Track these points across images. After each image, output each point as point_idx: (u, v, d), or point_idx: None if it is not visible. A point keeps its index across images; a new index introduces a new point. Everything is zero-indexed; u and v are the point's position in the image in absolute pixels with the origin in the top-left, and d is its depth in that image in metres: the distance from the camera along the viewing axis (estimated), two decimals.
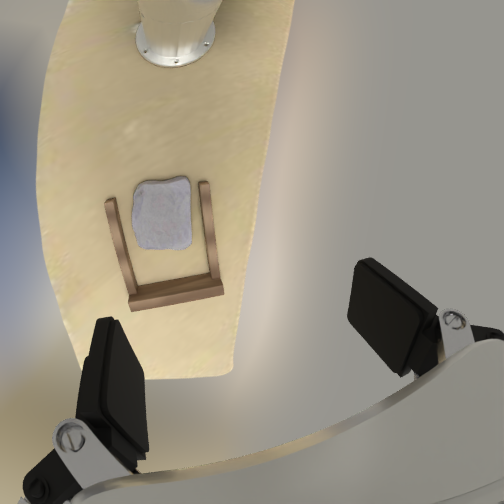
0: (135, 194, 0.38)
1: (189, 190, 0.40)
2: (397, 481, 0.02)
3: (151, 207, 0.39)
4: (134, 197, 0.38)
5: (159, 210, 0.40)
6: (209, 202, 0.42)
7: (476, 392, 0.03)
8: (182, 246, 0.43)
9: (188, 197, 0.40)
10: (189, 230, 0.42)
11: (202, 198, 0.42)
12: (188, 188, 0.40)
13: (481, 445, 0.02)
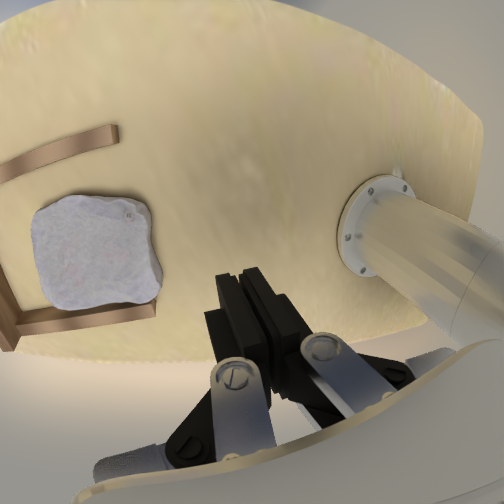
0: (126, 204, 0.19)
1: (143, 301, 0.22)
2: (397, 481, 0.02)
3: (103, 239, 0.19)
4: (120, 202, 0.19)
5: (100, 255, 0.19)
6: (125, 319, 0.23)
7: (476, 392, 0.03)
8: (49, 297, 0.18)
9: (130, 300, 0.22)
10: (77, 307, 0.20)
11: (129, 309, 0.22)
12: (146, 300, 0.22)
13: (481, 445, 0.02)
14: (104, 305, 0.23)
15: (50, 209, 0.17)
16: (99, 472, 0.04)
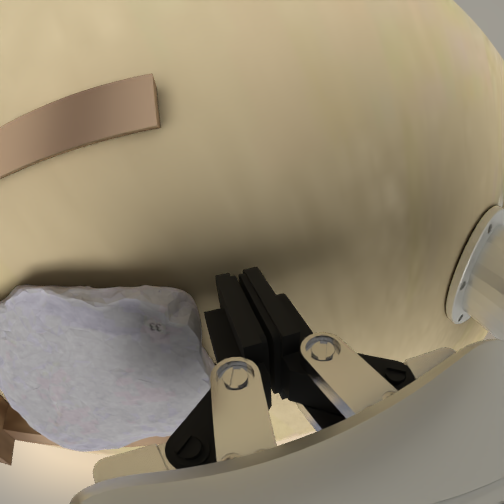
0: (143, 307, 0.08)
1: None
2: (397, 481, 0.02)
3: (113, 374, 0.08)
4: (128, 304, 0.08)
5: (114, 396, 0.09)
6: None
7: (476, 392, 0.03)
8: (50, 439, 0.08)
9: None
10: (97, 449, 0.10)
11: None
12: None
13: (481, 445, 0.02)
14: None
15: None
16: (99, 472, 0.04)
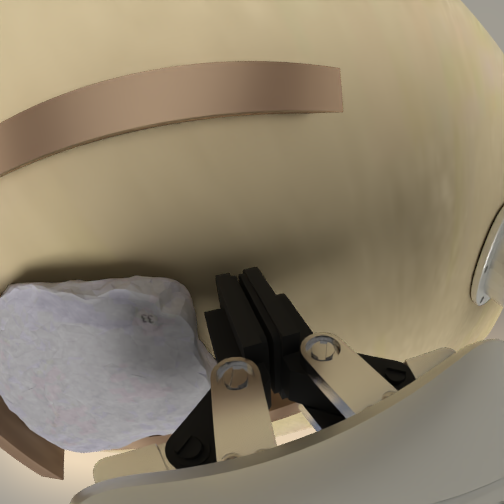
0: (133, 298, 0.08)
1: None
2: (397, 481, 0.02)
3: (106, 370, 0.08)
4: (118, 295, 0.08)
5: (109, 393, 0.08)
6: (271, 420, 0.13)
7: (476, 392, 0.03)
8: (50, 441, 0.08)
9: None
10: (97, 450, 0.09)
11: (285, 407, 0.13)
12: None
13: (481, 445, 0.02)
14: None
15: None
16: (99, 472, 0.04)
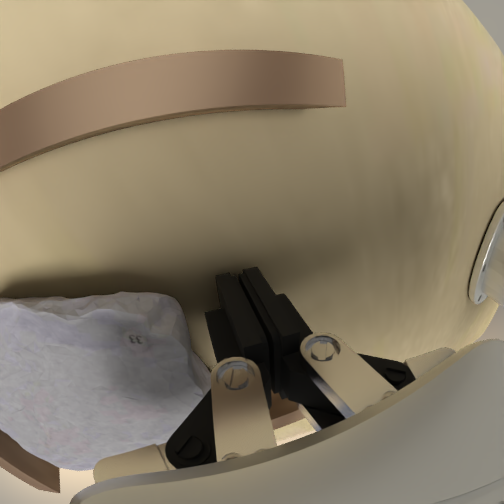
0: (119, 318, 0.07)
1: None
2: (397, 481, 0.02)
3: (96, 393, 0.07)
4: (102, 315, 0.07)
5: (101, 415, 0.07)
6: None
7: (476, 392, 0.03)
8: (45, 459, 0.07)
9: None
10: (93, 468, 0.08)
11: (283, 416, 0.13)
12: None
13: (481, 445, 0.02)
14: None
15: None
16: (99, 472, 0.04)
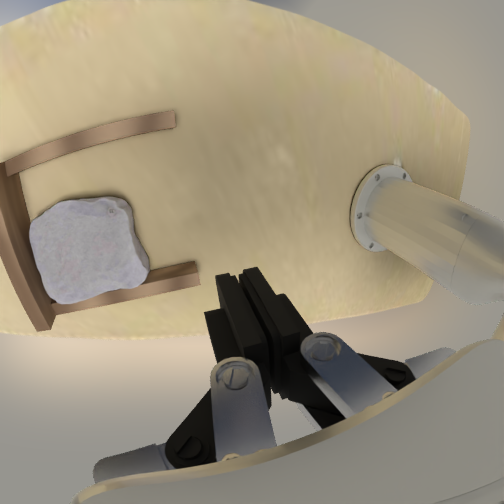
0: (107, 201, 0.21)
1: (133, 286, 0.24)
2: (397, 481, 0.02)
3: (92, 235, 0.21)
4: (102, 200, 0.21)
5: (91, 249, 0.21)
6: (171, 288, 0.26)
7: (476, 392, 0.03)
8: (52, 294, 0.21)
9: (122, 286, 0.24)
10: (77, 299, 0.22)
11: (177, 278, 0.26)
12: (136, 284, 0.24)
13: (481, 445, 0.02)
14: (150, 277, 0.26)
15: (44, 216, 0.19)
16: (99, 472, 0.04)
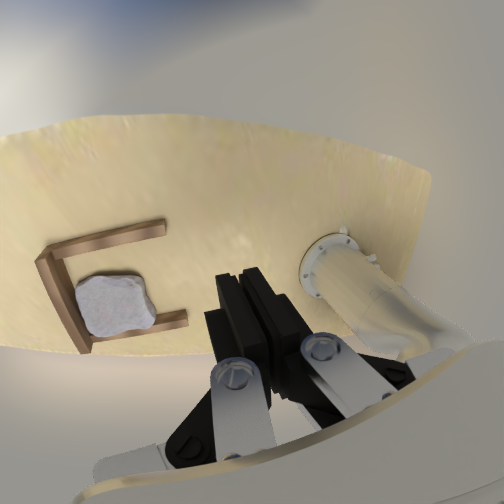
0: (128, 280, 0.35)
1: (146, 328, 0.38)
2: (397, 481, 0.02)
3: (119, 299, 0.35)
4: (125, 279, 0.35)
5: (119, 307, 0.35)
6: (170, 328, 0.40)
7: (476, 392, 0.03)
8: (92, 331, 0.35)
9: (139, 327, 0.38)
10: (109, 335, 0.36)
11: (173, 322, 0.40)
12: (148, 327, 0.38)
13: (481, 445, 0.02)
14: (156, 320, 0.40)
15: (85, 285, 0.33)
16: (99, 472, 0.04)
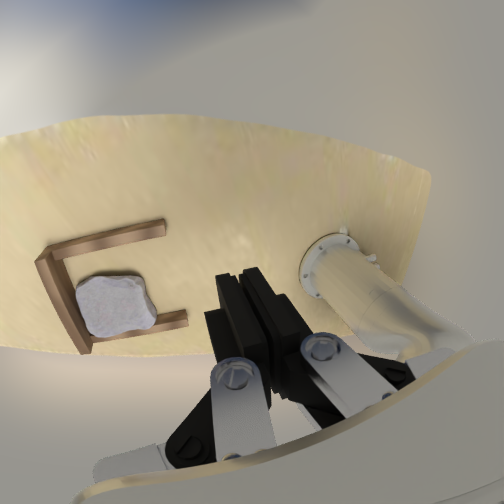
0: (128, 280, 0.35)
1: (146, 328, 0.38)
2: (397, 481, 0.02)
3: (120, 299, 0.35)
4: (125, 279, 0.35)
5: (119, 307, 0.35)
6: (170, 328, 0.40)
7: (476, 392, 0.03)
8: (92, 332, 0.35)
9: (139, 328, 0.38)
10: (109, 335, 0.36)
11: (173, 322, 0.40)
12: (148, 327, 0.38)
13: (481, 445, 0.02)
14: (156, 320, 0.40)
15: (85, 285, 0.33)
16: (99, 472, 0.04)
